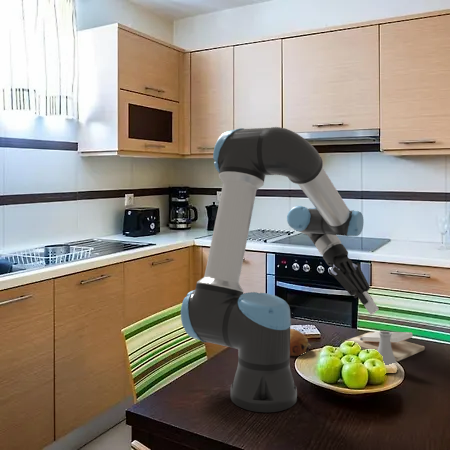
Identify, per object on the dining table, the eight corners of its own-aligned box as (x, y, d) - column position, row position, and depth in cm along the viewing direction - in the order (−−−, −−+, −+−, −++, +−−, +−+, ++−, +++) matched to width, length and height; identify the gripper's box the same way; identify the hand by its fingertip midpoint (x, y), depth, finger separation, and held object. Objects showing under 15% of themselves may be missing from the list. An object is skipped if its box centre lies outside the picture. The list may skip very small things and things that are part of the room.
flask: (395, 365, 138) (396, 328, 137) (401, 375, 131) (403, 337, 129) (367, 364, 138) (368, 327, 137) (372, 374, 131) (373, 336, 130)
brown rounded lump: (295, 355, 155) (287, 329, 157) (319, 349, 147) (311, 322, 149) (272, 363, 148) (264, 336, 150) (296, 357, 141) (287, 329, 143)
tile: (360, 341, 153) (397, 343, 143) (359, 336, 153) (396, 338, 143) (376, 335, 158) (413, 337, 149) (375, 331, 158) (412, 332, 149)
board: (397, 361, 140) (397, 357, 140) (343, 344, 154) (343, 340, 154) (424, 349, 149) (424, 346, 149) (371, 334, 163) (371, 331, 163)
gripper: (338, 255, 171) (379, 315, 160) (311, 259, 163) (353, 322, 152) (351, 240, 166) (395, 301, 155) (325, 244, 158) (369, 308, 147)
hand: (374, 312), depth 153 cm, fingers closed
